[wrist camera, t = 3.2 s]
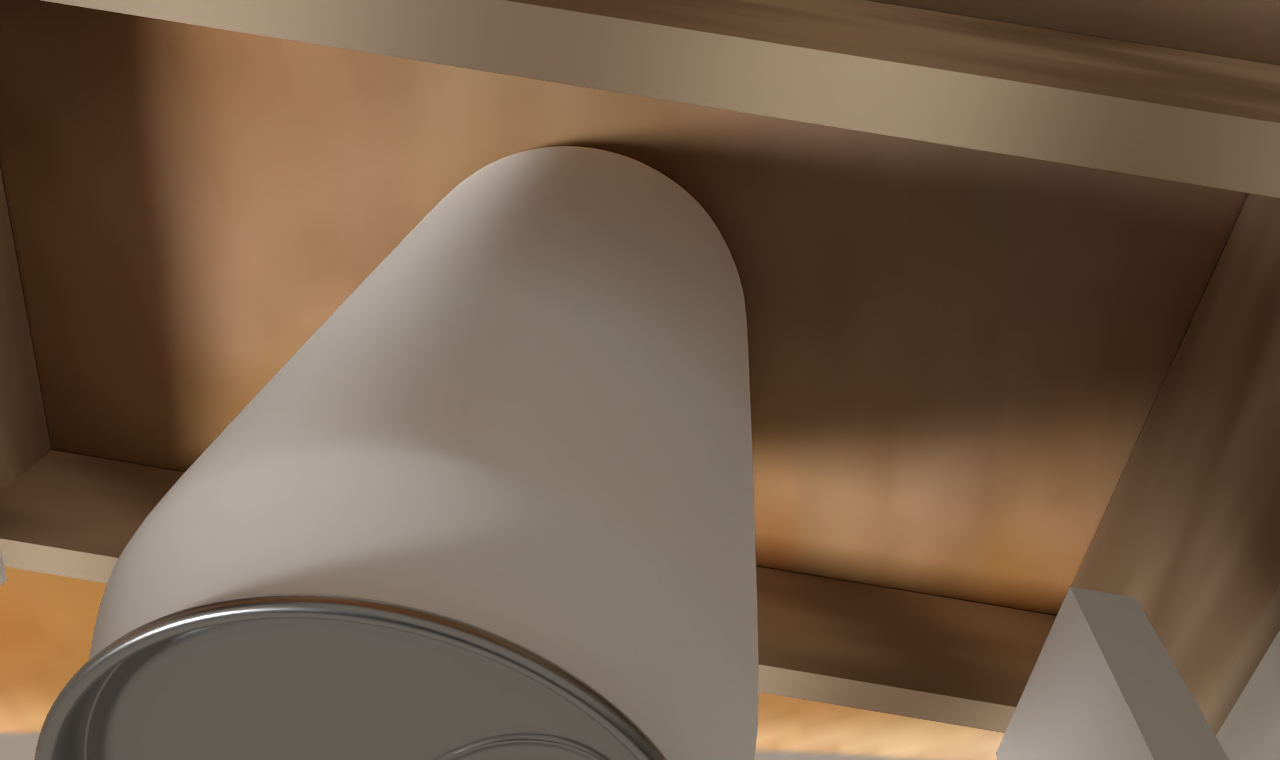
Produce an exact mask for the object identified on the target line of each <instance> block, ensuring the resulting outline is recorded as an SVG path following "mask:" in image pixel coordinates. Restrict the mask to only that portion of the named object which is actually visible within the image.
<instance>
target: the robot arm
mask: <svg viewBox="0 0 1280 760" xmlns="http://www.w3.org/2000/svg"><path fill="white" fill-rule="evenodd" d="M6 580H7V578H6V574H5V569H4V564H3V559H2V555H1V550H0V586H1V585H2V584H3V583H4V582H5V581H6ZM996 755H997V759H998V760H1229V759H1228V757H1227V755H1226V754H1225V752H1224V750H1223V748H1222V747H1221V745H1220V743H1219V741H1218V740H1217V738H1216V736H1215V735H1214V733H1213V731H1212V729H1211V728H1210V726H1209V724H1208V722H1207V721H1206V719H1205V717H1204V715H1203V714H1202V712H1201V710H1200V708H1199V707H1198V705H1197V703H1196V701H1195V700H1194V698H1193V696H1192V695H1191V693H1190V691H1189V689H1188V688H1187V686H1186V684H1185V682H1184V681H1183V679H1182V677H1181V675H1180V674H1179V672H1178V670H1177V668H1176V667H1175V665H1174V663H1173V662H1172V660H1171V658H1170V656H1169V655H1168V653H1167V651H1166V649H1165V648H1164V646H1163V644H1162V642H1161V641H1160V639H1159V637H1158V635H1157V634H1156V632H1155V630H1154V629H1153V627H1152V625H1151V623H1150V622H1149V620H1148V618H1147V616H1146V615H1145V613H1144V611H1143V609H1142V608H1141V606H1140V604H1139V602H1138V601H1137V599H1136V598H1134V597H1128V596H1122V595H1116V594H1111V593H1105V592H1099V591H1093V590H1087V589H1081V588H1076V587H1069V589H1068V592H1067V594H1066V596H1065V598H1064V601H1063V603H1062V605H1061V608H1060V610H1059V612H1058V614H1057V617H1056V619H1055V621H1054V623H1053V626H1052V628H1051V630H1050V632H1049V635H1048V637H1047V639H1046V641H1045V644H1044V646H1043V648H1042V651H1041V653H1040V655H1039V657H1038V660H1037V662H1036V664H1035V666H1034V669H1033V671H1032V673H1031V675H1030V678H1029V680H1028V682H1027V684H1026V687H1025V689H1024V691H1023V694H1022V696H1021V698H1020V700H1019V703H1018V705H1017V707H1016V709H1015V712H1014V714H1013V716H1012V718H1011V721H1010V723H1009V725H1008V727H1007V730H1006V732H1005V734H1004V737H1003V739H1002V741H1001V743H1000V746H999V748H998V750H997V752H996Z"/></svg>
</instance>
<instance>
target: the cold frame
mask: <svg viewBox="0 0 1280 760" xmlns="http://www.w3.org/2000/svg"><path fill="white" fill-rule="evenodd" d="M42 1H48V2H55V3H61V4H67V5H73V6H80V7H86V8H92V9H98V10H105V11H111V12H117V13H123V14H130V15H136V16H142V17H149V18H155V19H161V20H167V21H174V22H180V23H186V24H192V25H199V26H205V27H211V28H218V29H224V30H230V31H236V32H243V33H249V34H255V35H261V36H268V37H274V38H280V39H286V40H293V41H299V42H305V43H312V44H318V45H324V46H330V47H337V48H343V49H349V50H355V51H362V52H368V53H374V54H381V55H387V56H393V57H399V58H406V59H412V60H418V61H424V62H431V63H437V64H443V65H449V66H456V67H462V68H468V69H475V70H481V71H487V72H493V73H500V74H506V75H512V76H518V77H525V78H531V79H537V80H543V81H550V82H556V83H562V84H569V85H575V86H581V87H587V88H594V89H600V90H606V91H612V92H619V93H625V94H631V95H638V96H644V97H650V98H656V99H663V100H669V101H675V102H681V103H688V104H694V105H700V106H706V107H713V108H719V109H725V110H732V111H738V112H744V113H750V114H757V115H763V116H769V117H775V118H782V119H788V120H794V121H801V122H807V123H813V124H819V125H826V126H832V127H838V128H844V129H851V130H857V131H863V132H869V133H876V134H882V135H888V136H895V137H901V138H907V139H913V140H920V141H926V142H932V143H938V144H945V145H951V146H957V147H964V148H970V149H976V150H982V151H989V152H995V153H1001V154H1007V155H1014V156H1020V157H1026V158H1032V159H1039V160H1045V161H1051V162H1058V163H1064V164H1070V165H1076V166H1083V167H1089V168H1095V169H1101V170H1108V171H1114V172H1120V173H1126V174H1133V175H1139V176H1145V177H1152V178H1158V179H1164V180H1170V181H1177V182H1183V183H1189V184H1195V185H1202V186H1208V187H1214V188H1221V189H1227V190H1233V191H1239V192H1246V193H1249V195H1248V197H1247V199H1246V201H1245V204H1244V206H1243V208H1242V210H1241V213H1240V215H1239V217H1238V219H1237V221H1236V224H1235V226H1234V228H1233V230H1232V232H1231V235H1230V237H1229V239H1228V241H1227V243H1226V246H1225V248H1224V250H1223V252H1222V255H1221V257H1220V259H1219V261H1218V263H1217V266H1216V268H1215V270H1214V272H1213V274H1212V277H1211V279H1210V281H1209V283H1208V285H1207V288H1206V290H1205V292H1204V294H1203V297H1202V299H1201V301H1200V303H1199V305H1198V308H1197V310H1196V312H1195V314H1194V316H1193V319H1192V321H1191V323H1190V325H1189V328H1188V330H1187V332H1186V334H1185V336H1184V339H1183V341H1182V343H1181V345H1180V347H1179V350H1178V352H1177V354H1176V356H1175V358H1174V361H1173V363H1172V365H1171V367H1170V370H1169V372H1168V374H1167V376H1166V378H1165V381H1164V383H1163V385H1162V387H1161V389H1160V392H1159V394H1158V396H1157V398H1156V400H1155V403H1154V405H1153V407H1152V409H1151V412H1150V414H1149V416H1148V418H1147V420H1146V423H1145V425H1144V427H1143V429H1142V431H1141V434H1140V436H1139V438H1138V440H1137V443H1136V445H1135V447H1134V449H1133V451H1132V454H1131V456H1130V458H1129V460H1128V462H1127V465H1126V467H1125V469H1124V471H1123V473H1122V476H1121V478H1120V480H1119V482H1118V485H1117V487H1116V489H1115V491H1114V493H1113V496H1112V498H1111V500H1110V502H1109V504H1108V507H1107V509H1106V511H1105V513H1104V515H1103V518H1102V520H1101V522H1100V524H1099V527H1098V529H1097V531H1096V533H1095V535H1094V538H1093V540H1092V542H1091V544H1090V546H1089V549H1088V551H1087V553H1086V555H1085V558H1084V560H1083V562H1082V564H1081V566H1080V569H1079V571H1078V573H1077V575H1076V577H1075V580H1074V582H1073V584H1072V586H1071V587H1076V588H1081V589H1087V590H1093V591H1099V592H1105V593H1111V594H1116V595H1122V596H1128V597H1134V598H1136V599H1137V601H1138V602H1139V604H1140V606H1141V608H1142V609H1143V611H1144V613H1145V615H1146V616H1147V618H1148V620H1149V622H1150V623H1151V625H1152V627H1153V629H1154V630H1155V632H1156V634H1157V635H1158V637H1159V639H1160V641H1161V642H1162V644H1163V646H1164V648H1165V649H1166V651H1167V653H1168V655H1169V656H1170V658H1171V660H1172V662H1173V663H1174V665H1175V667H1176V668H1177V670H1178V672H1179V674H1180V675H1181V677H1182V679H1183V681H1184V682H1185V684H1186V686H1187V688H1188V689H1189V691H1190V693H1191V695H1192V696H1193V698H1194V700H1195V701H1196V703H1197V705H1198V707H1199V708H1200V710H1201V712H1202V714H1203V715H1204V717H1205V719H1206V721H1207V722H1208V724H1209V726H1210V728H1211V729H1212V731H1213V733H1214V735H1215V736H1216V738H1217V740H1218V741H1219V743H1220V745H1221V747H1222V748H1223V750H1224V752H1225V754H1226V755H1227V757H1228V759H1229V760H1280V66H1279V65H1273V64H1266V63H1260V62H1254V61H1247V60H1241V59H1235V58H1228V57H1222V56H1216V55H1209V54H1203V53H1197V52H1190V51H1184V50H1178V49H1171V48H1165V47H1159V46H1152V45H1146V44H1140V43H1133V42H1127V41H1121V40H1114V39H1108V38H1102V37H1095V36H1089V35H1083V34H1076V33H1070V32H1064V31H1057V30H1051V29H1045V28H1038V27H1032V26H1026V25H1019V24H1013V23H1007V22H1000V21H994V20H988V19H981V18H975V17H969V16H962V15H956V14H950V13H943V12H937V11H931V10H924V9H918V8H912V7H905V6H899V5H893V4H886V3H880V2H874V1H867V0H42ZM184 473H185V472H181V471H175V470H169V469H163V468H157V467H151V466H145V465H139V464H133V463H127V462H121V461H115V460H108V459H102V458H96V457H90V456H84V455H78V454H72V453H66V452H60V451H54V450H51V445H50V439H49V434H48V428H47V423H46V417H45V412H44V406H43V401H42V395H41V390H40V384H39V379H38V373H37V368H36V362H35V357H34V351H33V346H32V340H31V335H30V329H29V324H28V318H27V313H26V307H25V302H24V296H23V290H22V285H21V279H20V274H19V268H18V263H17V257H16V252H15V246H14V241H13V235H12V230H11V224H10V219H9V213H8V208H7V202H6V197H5V191H4V186H3V180H2V175H1V169H0V550H1V555H2V559H3V564H4V566H6V567H12V568H18V569H24V570H30V571H36V572H42V573H48V574H54V575H60V576H66V577H72V578H78V579H84V580H90V581H96V582H102V583H108V580H109V578H110V575H111V573H112V570H113V568H114V566H115V564H116V562H117V560H118V558H119V557H120V555H121V553H122V552H123V550H124V549H125V547H126V545H127V544H128V543H129V541H130V540H131V538H132V537H133V535H134V534H135V533H136V531H137V530H138V528H139V527H140V526H141V524H142V523H143V521H144V520H145V518H146V517H147V516H148V515H149V513H150V512H151V511H152V510H153V509H154V507H155V506H156V505H157V504H158V503H159V502H160V500H161V499H162V498H163V497H164V496H165V495H166V494H167V492H168V491H169V490H170V489H171V488H172V487H173V485H174V484H175V483H176V482H177V481H178V480H179V478H180V477H181V476H182V475H183V474H184ZM756 585H757V623H758V668H759V671H758V692H762V693H768V694H774V695H780V696H786V697H792V698H798V699H804V700H810V701H816V702H822V703H828V704H834V705H840V706H846V707H852V708H858V709H864V710H870V711H876V712H882V713H888V714H894V715H900V716H906V717H912V718H918V719H924V720H930V721H936V722H942V723H948V724H954V725H960V726H966V727H972V728H978V729H984V730H990V731H996V732H1002V733H1005V732H1006V730H1007V727H1008V725H1009V723H1010V721H1011V718H1012V716H1013V714H1014V712H1015V709H1016V707H1017V705H1018V703H1019V700H1020V698H1021V696H1022V694H1023V691H1024V689H1025V687H1026V684H1027V682H1028V680H1029V678H1030V675H1031V673H1032V671H1033V669H1034V666H1035V664H1036V662H1037V660H1038V657H1039V655H1040V653H1041V651H1042V648H1043V646H1044V644H1045V641H1046V639H1047V637H1048V635H1049V632H1050V630H1051V628H1052V626H1053V623H1054V621H1055V619H1056V617H1057V616H1054V615H1048V614H1042V613H1036V612H1030V611H1024V610H1018V609H1011V608H1005V607H999V606H993V605H987V604H981V603H975V602H969V601H963V600H957V599H951V598H945V597H939V596H933V595H927V594H921V593H914V592H908V591H902V590H896V589H890V588H884V587H878V586H872V585H866V584H860V583H854V582H848V581H842V580H836V579H830V578H824V577H818V576H811V575H805V574H799V573H793V572H787V571H781V570H775V569H769V568H763V567H757V566H756Z"/></svg>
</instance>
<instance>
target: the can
mask: <svg viewBox="0 0 1280 760" xmlns="http://www.w3.org/2000/svg"><path fill="white" fill-rule="evenodd" d="M758 671H759V668H758V623H757V585H756V552H755V519H754V490H753V461H752V433H751V406H750V380H749V357H748V336H747V319H746V309H745V300H744V294H743V289H742V285H741V281H740V278H739V274H738V271H737V268H736V266H735V263H734V260H733V258H732V255H731V253H730V251H729V249H728V247H727V245H726V243H725V241H724V239H723V237H722V235H721V233H720V232H719V230H718V228H717V227H716V225H715V223H714V222H713V220H712V219H711V218H710V216H709V215H708V214H707V212H706V211H705V210H704V209H703V207H702V206H701V205H700V204H699V203H698V202H697V201H696V200H695V199H694V198H693V197H692V196H691V195H690V194H689V193H688V192H687V191H685V190H684V189H683V188H682V187H681V186H679V185H678V184H677V183H675V182H674V181H673V180H671V179H670V178H668V177H667V176H665V175H664V174H662V173H660V172H659V171H657V170H655V169H653V168H652V167H650V166H648V165H646V164H643V163H641V162H639V161H637V160H634V159H632V158H629V157H626V156H623V155H620V154H617V153H613V152H609V151H605V150H600V149H595V148H587V147H576V146H555V147H545V148H538V149H532V150H527V151H523V152H519V153H516V154H513V155H510V156H507V157H504V158H502V159H499V160H497V161H495V162H493V163H491V164H489V165H487V166H485V167H483V168H482V169H480V170H478V171H477V172H475V173H474V174H472V175H471V176H469V177H468V178H466V179H465V180H464V181H462V182H461V183H460V184H459V185H457V186H456V187H455V188H454V189H453V190H452V191H451V192H450V193H449V194H448V195H446V196H445V197H444V198H443V199H442V200H441V201H440V202H439V203H438V204H437V205H436V206H435V207H434V208H433V209H432V210H431V211H430V212H429V213H428V214H427V215H426V216H425V217H424V218H423V219H422V220H421V221H420V223H419V224H418V225H417V226H416V227H415V228H414V229H413V230H412V231H411V232H410V233H409V234H408V235H407V236H406V237H405V238H404V239H403V240H402V241H401V242H400V243H399V244H398V245H397V246H396V248H395V249H394V250H393V251H392V252H391V253H390V254H389V255H388V256H387V257H386V258H385V259H384V260H383V261H382V262H381V263H380V264H379V265H378V266H377V268H376V269H375V270H374V271H373V272H372V273H371V274H370V275H369V276H368V277H367V278H366V279H365V280H364V281H363V282H362V283H361V284H360V285H359V286H358V287H357V289H356V290H355V291H354V292H353V293H352V294H351V295H350V296H349V297H348V298H347V299H346V300H345V301H344V302H343V303H342V304H341V305H340V307H339V308H338V309H337V310H336V311H335V312H334V313H333V314H332V315H331V316H330V317H329V318H328V319H327V320H326V321H325V322H324V324H323V325H322V326H321V327H320V328H319V329H318V330H317V331H316V332H315V333H314V334H313V335H312V336H311V337H310V338H309V339H308V340H307V342H306V343H305V344H304V345H303V346H302V347H301V348H300V349H299V350H298V351H297V352H296V353H295V354H294V355H293V356H292V357H291V359H290V360H289V361H288V362H287V363H286V364H285V365H284V366H283V367H282V368H281V369H280V370H279V371H278V372H277V374H276V375H275V376H274V377H273V378H272V379H271V380H270V381H269V382H268V383H267V384H266V385H265V386H264V387H263V388H262V390H261V391H260V392H259V393H258V394H257V395H256V396H255V397H254V398H253V399H252V400H251V401H250V402H249V403H248V405H247V406H246V407H245V408H244V409H243V410H242V411H241V412H240V413H239V414H238V415H237V416H236V417H235V418H234V419H233V421H232V422H231V423H230V424H229V425H228V426H227V427H226V428H225V429H224V430H223V431H222V433H221V434H220V435H219V436H218V437H217V438H216V439H215V440H214V441H213V442H212V443H211V444H210V446H209V447H208V448H207V449H206V450H205V451H204V452H203V453H202V454H201V455H200V456H199V458H198V459H197V460H196V461H195V462H194V463H193V464H192V465H191V466H190V467H189V468H188V469H187V471H186V472H185V473H184V474H183V475H182V476H181V477H180V478H179V480H178V481H177V482H176V483H175V484H174V485H173V487H172V488H171V489H170V490H169V491H168V492H167V494H166V495H165V496H164V497H163V498H162V499H161V500H160V502H159V503H158V504H157V505H156V506H155V507H154V509H153V510H152V511H151V512H150V513H149V515H148V516H147V517H146V518H145V520H144V521H143V523H142V524H141V526H140V527H139V528H138V530H137V531H136V533H135V534H134V535H133V537H132V538H131V540H130V541H129V543H128V544H127V545H126V547H125V549H124V550H123V552H122V553H121V555H120V557H119V558H118V560H117V562H116V564H115V566H114V568H113V570H112V573H111V575H110V578H109V580H108V583H107V586H106V589H105V592H104V595H103V598H102V600H101V603H100V607H99V611H98V615H97V619H96V624H95V628H94V634H93V639H92V645H91V651H90V657H89V661H88V662H87V663H86V664H85V665H84V666H83V667H82V668H81V669H80V670H79V671H78V672H77V673H76V674H75V675H74V676H73V677H72V678H71V679H70V680H69V682H68V683H67V684H66V686H65V687H64V688H63V690H62V691H61V692H60V694H59V695H58V697H57V698H56V700H55V702H54V703H53V705H52V707H51V709H50V711H49V713H48V714H47V717H46V719H45V721H44V724H43V726H42V729H41V732H40V735H39V739H38V743H37V747H36V753H35V759H34V760H754V756H755V747H756V738H757V727H758Z"/></svg>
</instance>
